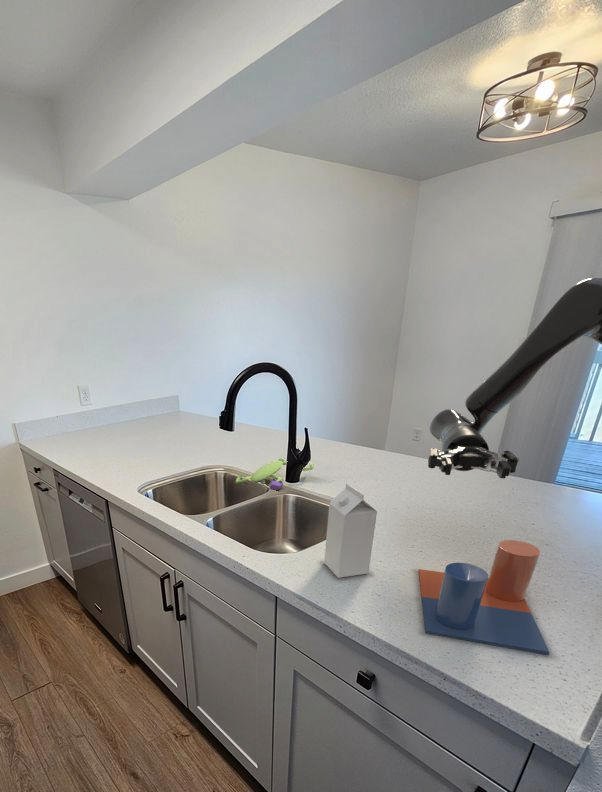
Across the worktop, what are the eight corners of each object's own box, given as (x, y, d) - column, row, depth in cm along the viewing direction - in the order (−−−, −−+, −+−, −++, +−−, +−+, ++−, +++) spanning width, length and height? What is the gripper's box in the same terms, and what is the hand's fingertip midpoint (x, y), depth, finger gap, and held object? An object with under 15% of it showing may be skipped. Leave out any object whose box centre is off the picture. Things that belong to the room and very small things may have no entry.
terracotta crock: (520, 586, 87) (535, 542, 82) (528, 604, 81) (544, 558, 77) (483, 581, 89) (495, 538, 84) (488, 598, 84) (502, 553, 79)
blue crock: (471, 611, 80) (484, 565, 76) (477, 632, 75) (491, 584, 71) (433, 605, 83) (443, 560, 78) (435, 625, 77) (447, 578, 73)
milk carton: (352, 558, 101) (361, 481, 93) (368, 574, 95) (380, 492, 86) (323, 563, 100) (330, 485, 92) (337, 578, 94) (346, 496, 85)
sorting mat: (516, 584, 88) (516, 581, 88) (548, 654, 70) (549, 652, 70) (418, 571, 95) (419, 569, 95) (425, 633, 77) (425, 630, 76)
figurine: (321, 477, 153) (322, 461, 151) (268, 496, 139) (268, 480, 137) (281, 466, 166) (282, 452, 164) (229, 483, 152) (229, 467, 150)
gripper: (428, 428, 91) (435, 448, 78) (508, 430, 86) (530, 452, 73) (422, 463, 94) (427, 488, 81) (498, 467, 89) (518, 494, 76)
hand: (476, 471), depth 77 cm, fingers open, 8 cm apart
